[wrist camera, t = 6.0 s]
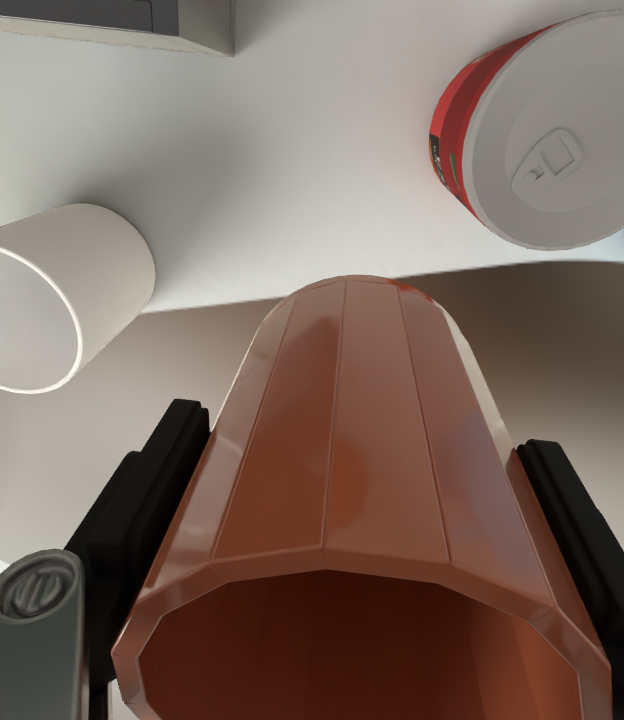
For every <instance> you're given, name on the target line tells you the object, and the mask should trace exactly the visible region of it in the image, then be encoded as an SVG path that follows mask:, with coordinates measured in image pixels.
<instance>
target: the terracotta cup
mask: <svg viewBox="0 0 624 720" xmlns="http://www.w3.org/2000/svg"><path fill="white" fill-rule="evenodd" d="M111 658H112V662H113V666H114V670H115V674H116V677H117V681H118V685H119V689H120V692H121V697H122V701H124V704H125V705H126V706H127V707H128V708H129V709H130V710H131V711H132V712H133V713H134V714H135V715H136V716H137V717H138V719H139V720H614V711H613V692H612V673H611V665H610V663H609V660H608V658H607V656H606V653H605V651H604V649H603V647H602V644H601V642H600V640H599V638H598V635H597V633H596V631H595V629H594V626H593V624H592V622H591V620H590V617H589V615H588V613H587V610H586V608H585V606H584V604H583V601H582V599H581V597H580V595H579V592H578V590H577V588H576V586H575V583H574V581H573V579H572V576H571V574H570V572H569V570H568V567H567V565H566V563H565V561H564V558H563V556H562V554H561V552H560V549H559V547H558V545H557V543H556V540H555V538H554V536H553V533H552V531H551V529H550V527H549V524H548V522H547V520H546V518H545V515H544V513H543V511H542V509H541V506H540V504H539V502H538V500H537V497H536V495H535V493H534V490H533V488H532V486H531V484H530V481H529V479H528V477H527V475H526V472H525V470H524V468H523V466H522V463H521V461H520V459H519V457H518V454H517V452H516V450H515V448H514V445H513V443H512V441H511V439H510V436H509V434H508V432H507V430H506V427H505V425H504V423H503V420H502V418H501V416H500V414H499V411H498V409H497V407H496V404H495V402H494V400H493V398H492V395H491V393H490V391H489V389H488V387H487V384H486V382H485V380H484V377H483V375H482V373H481V371H480V368H479V366H478V364H477V361H476V359H475V357H474V355H473V353H472V350H471V348H470V346H469V344H468V342H467V341H466V339H465V338H464V337H463V335H462V333H461V332H460V329H459V328H458V326H457V325H456V323H455V322H454V320H453V319H452V317H451V316H450V315H449V314H448V313H447V312H446V311H445V310H444V309H443V307H442V306H440V305H439V304H438V303H437V302H436V301H434V300H433V299H432V298H431V297H429V296H428V295H426V294H424V293H423V292H421V291H419V290H418V289H416V288H414V287H411V286H409V285H407V284H405V283H402V282H399V281H395V280H392V279H389V278H384V277H378V276H372V275H346V276H337V277H333V278H328V279H323V280H320V281H318V282H315V283H312V284H309V285H307V286H305V287H303V288H301V289H299V290H297V291H295V292H294V293H292V294H291V295H289V296H288V297H286V298H285V299H284V300H282V301H281V302H280V303H279V304H278V305H277V306H276V307H275V308H274V309H272V310H271V312H270V313H269V314H268V315H267V317H266V318H265V319H264V321H263V322H262V323H261V325H260V327H259V329H258V330H257V332H256V334H255V336H254V339H253V341H252V343H251V345H250V347H249V349H248V351H247V353H246V355H245V357H244V359H243V361H242V363H241V366H240V368H239V370H238V372H237V374H236V377H235V379H234V381H233V383H232V385H231V388H230V390H229V392H228V394H227V396H226V398H225V401H224V403H223V405H222V407H221V410H220V412H219V414H218V416H217V418H216V420H215V422H214V425H213V427H212V429H211V431H210V433H209V436H208V438H207V440H206V442H205V444H204V446H203V449H202V451H201V453H200V455H199V457H198V460H197V462H196V464H195V466H194V468H193V471H192V473H191V475H190V477H189V479H188V481H187V484H186V486H185V488H184V490H183V492H182V495H181V497H180V499H179V501H178V503H177V505H176V508H175V510H174V512H173V514H172V516H171V519H170V521H169V523H168V525H167V527H166V530H165V532H164V534H163V536H162V538H161V540H160V543H159V545H158V547H157V549H156V551H155V554H154V556H153V558H152V560H151V562H150V565H149V567H148V569H147V571H146V573H145V575H144V578H143V580H142V582H141V584H140V586H139V589H138V591H137V593H136V595H135V597H134V600H133V602H132V604H131V606H130V608H129V610H128V613H127V615H126V617H125V619H124V621H123V624H122V626H121V628H120V630H119V632H118V634H117V637H116V639H115V641H114V643H113V645H112V648H111Z"/></svg>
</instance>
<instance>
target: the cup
mask: <svg viewBox="0 0 624 720" xmlns="http://www.w3.org/2000/svg"><path fill="white" fill-rule="evenodd" d="M155 278H156V274H155V265H154V260H153V257H152V254H151V252H150V249H149V247H148V245H147V244H146V242H145V240H144V239H143V237H142V236H141V235H140V233H139V232H138V231H137V230H136V229H135V228H134V227H133V226H132V225H131V224H130V223H129V222H128V221H127V220H125V219H124V218H123V217H121V216H120V215H118V214H116V213H115V212H113V211H111V210H108V209H106V208H103V207H100V206H97V205H92V204H83V203H79V204H69V205H64V206H60V207H57V208H54V209H51V210H48V211H45V212H42V213H39V214H36V215H33V216H30V217H27V218H24V219H22V220H19V221H16V222H13V223H10V224H7V225H4V226H1V227H0V388H1V389H3V390H7V391H12V392H17V393H26V394H31V393H32V394H35V393H43V392H48V391H51V390H54V389H57V388H59V387H61V386H62V385H64V384H65V383H67V382H68V381H69V380H70V379H71V378H72V377H73V376H74V375H76V374H77V373H78V372H79V371H80V370H81V369H82V368H83V367H84V366H85V365H86V364H87V363H88V362H89V361H90V360H91V359H92V358H93V357H94V356H95V355H96V354H97V353H99V352H100V351H101V350H102V349H103V348H104V347H105V346H106V345H107V344H108V343H109V342H110V341H111V340H112V339H113V338H114V337H115V336H116V335H117V334H119V333H120V332H121V331H122V330H123V329H124V328H125V327H126V326H127V325H128V324H129V323H130V322H131V321H132V320H133V319H134V318H135V317H136V316H137V315H138V314H139V313H140V312H141V311H142V310H143V309H144V308H145V306H146V305H147V304H148V302H149V300H150V298H151V296H152V294H153V291H154V287H155Z"/></svg>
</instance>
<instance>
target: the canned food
mask: <svg viewBox="0 0 624 720" xmlns="http://www.w3.org/2000/svg"><path fill="white" fill-rule="evenodd" d="M429 150H430V158H431V162H432V165H433V167H434V170H435V173H436V174H437V176H438V178H439V179H440V181H441V183H442V184H443V185H444V186H445V187H446V188H447V189H448V190H449V191H450V192H451V193H452V194H453V195H454V196H455V197H456V198H457V199H458V200H459V201H460V202H461V203H462V204H463V205H464V206H465V207H466V208H467V209H468V210H469V211H470V212H471V213H472V214H473V215H474V216H475V217H476V218H477V219H478V220H479V221H480V222H481V223H482V224H483V225H484V226H486V227H487V228H488V229H489V230H490V231H491V232H493V233H495V234H496V235H498V236H499V237H501V238H503V239H504V240H506V241H509V242H510V243H513V244H516V245H519V246H522V247H525V248H528V249H535V250H543V251H556V250H568V249H573V248H577V247H581V246H585V245H589V244H591V243H594V242H596V241H599V240H601V239H604V238H606V237H608V236H610V235H612V234H614V233H616V232H617V231H619V230H621V229H622V228H624V10H622V9H619V10H608V11H600V12H592V13H586V14H583V15H580V16H577V17H574V18H571V19H568V20H565V21H562V22H559V23H557V24H554V25H551V26H548V27H546V28H543V29H541V30H539V31H536V32H534V33H531V34H529V35H527V36H524V37H522V38H520V39H517V40H515V41H512V42H510V43H508V44H505V45H503V46H501V47H498V48H496V49H493V50H491V51H489V52H487V53H486V54H484V55H482V56H480V57H478V58H477V59H475V60H474V61H472V62H471V63H470V64H469V65H468V66H466V67H465V68H464V69H463V70H461V72H460V73H459V74H458V75H457V76H456V77H455V78H454V79H453V81H452V82H451V83H450V84H449V86H448V87H447V89H446V90H445V92H444V93H443V95H442V97H441V98H440V100H439V103H438V105H437V107H436V110H435V112H434V115H433V119H432V123H431V127H430V135H429Z"/></svg>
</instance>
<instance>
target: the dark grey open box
mask: <svg viewBox="0 0 624 720" xmlns="http://www.w3.org/2000/svg"><path fill="white" fill-rule="evenodd" d="M234 21H235V0H0V32H8V33H17V34H26V35H35V36H44V37H53V38H62V39H71V40H80V41H89V42H98V43H107V44H117V45H126V46H135V47H144V48H153V49H162V50H171V51H180V52H189V53H198V54H207V55H216V56H225V57H234Z"/></svg>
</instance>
